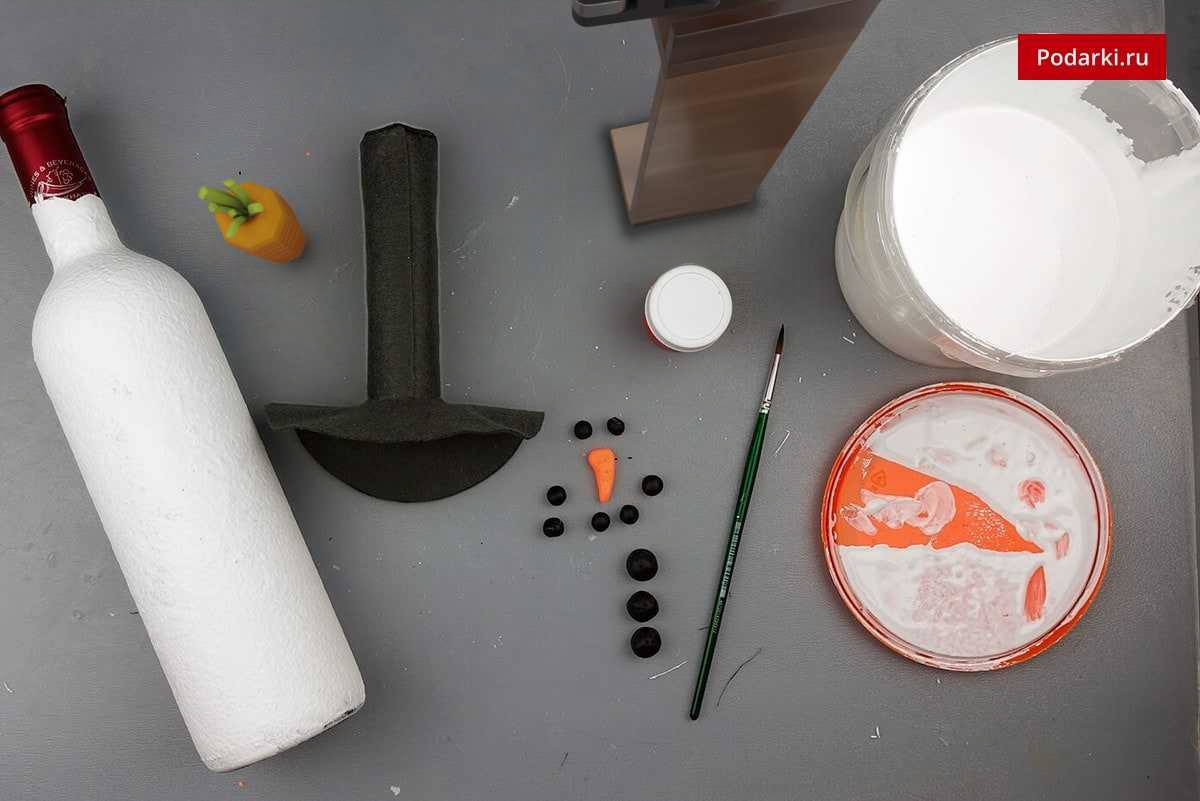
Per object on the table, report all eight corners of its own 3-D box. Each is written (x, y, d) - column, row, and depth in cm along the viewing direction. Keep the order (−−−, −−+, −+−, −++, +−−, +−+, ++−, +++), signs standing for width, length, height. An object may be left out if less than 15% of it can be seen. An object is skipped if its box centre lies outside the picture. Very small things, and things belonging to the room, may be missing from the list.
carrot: (339, 248, 73) (278, 193, 58) (297, 293, 73) (225, 249, 58) (294, 207, 73) (222, 142, 58) (252, 252, 73) (168, 198, 58)
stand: (609, 134, 74) (629, -69, 46) (726, 109, 75) (819, -107, 46) (631, 227, 74) (665, 80, 45) (749, 202, 74) (856, 40, 46)
